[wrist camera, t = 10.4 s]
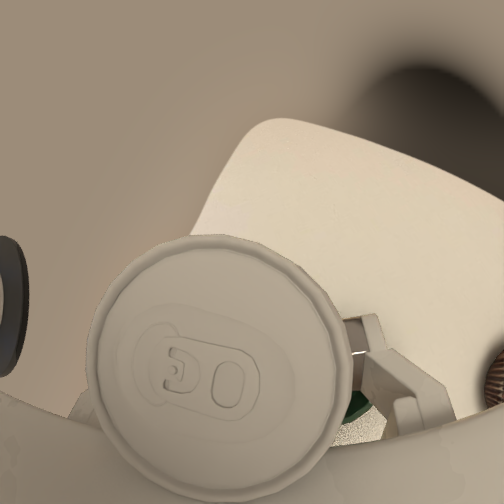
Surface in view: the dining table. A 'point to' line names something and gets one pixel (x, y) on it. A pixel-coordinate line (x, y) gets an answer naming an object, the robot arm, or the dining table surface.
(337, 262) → the dining table surface
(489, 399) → the cupcake
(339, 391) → the beverage can
